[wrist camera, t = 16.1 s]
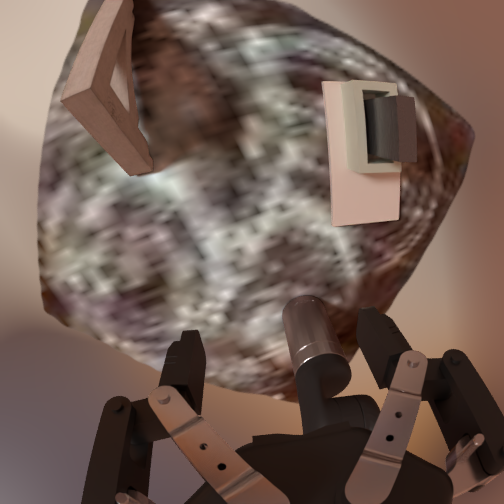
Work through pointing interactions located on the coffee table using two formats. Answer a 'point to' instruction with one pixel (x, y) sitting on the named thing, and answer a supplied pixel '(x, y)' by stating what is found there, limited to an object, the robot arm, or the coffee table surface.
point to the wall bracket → (109, 88)
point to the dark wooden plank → (391, 128)
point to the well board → (358, 157)
